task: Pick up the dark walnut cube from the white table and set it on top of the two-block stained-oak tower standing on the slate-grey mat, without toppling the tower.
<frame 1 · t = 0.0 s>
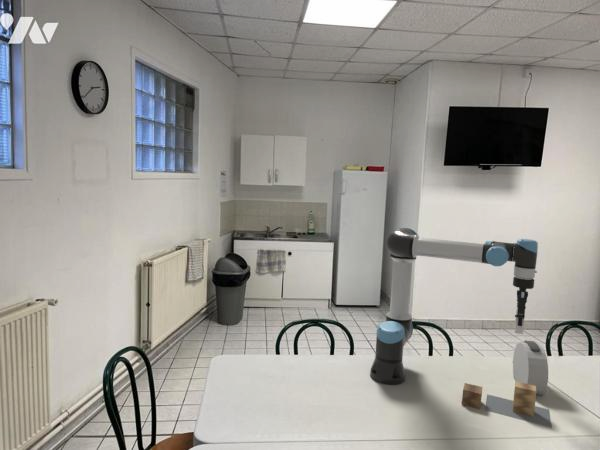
hand: (518, 328, 173), 28 cm above the table, fingers open, 13 cm apart
slate mat: (517, 410, 162), on the table
alarm clock: (527, 387, 183), on the table
oak block lower: (523, 411, 161), resting on slate mat, touching oak block upper
walnut cube: (471, 404, 166), on the table
oak block upper: (524, 398, 161), point 5 cm above the table, touching oak block lower
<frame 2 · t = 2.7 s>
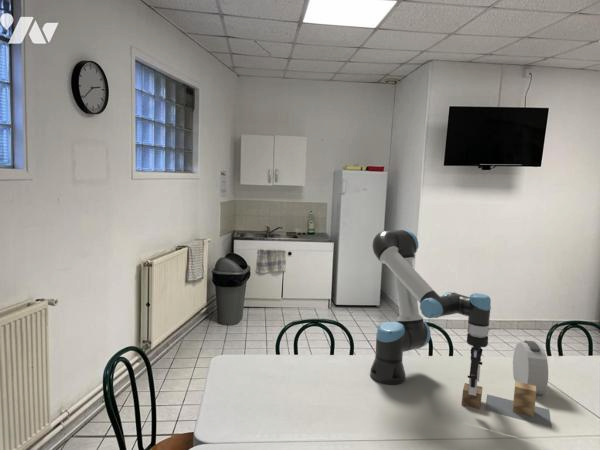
hand: (473, 387, 165), 7 cm above the table, fingers open, 13 cm apart
nothing on the table moved.
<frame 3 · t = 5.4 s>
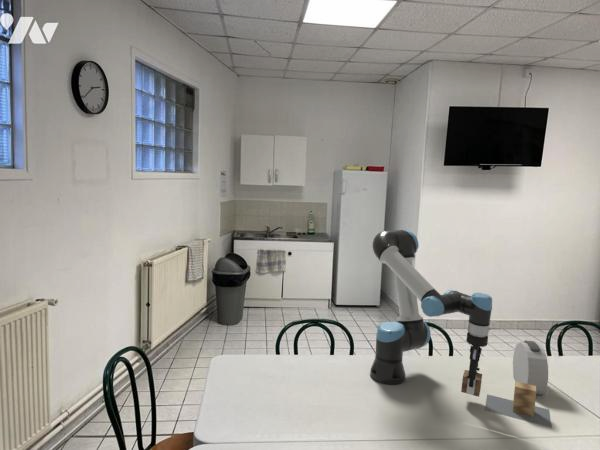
hand: (471, 389, 166), 6 cm above the table, fingers closed on walnut cube, 6 cm apart
walnut cube: (470, 390, 166), point 5 cm above the table, touching gripper
everything else where it was.
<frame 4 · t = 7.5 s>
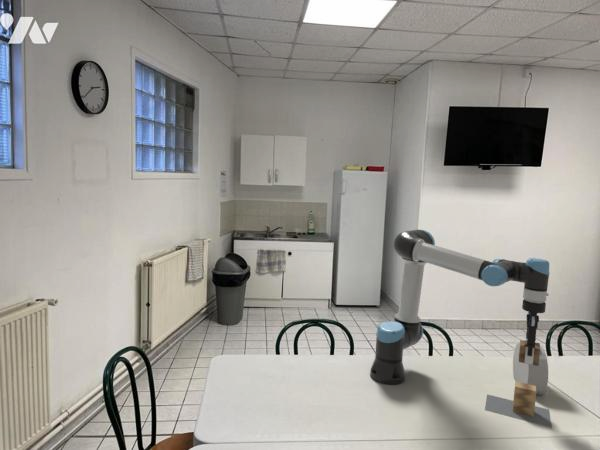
hand: (528, 360, 159), 21 cm above the table, fingers closed on walnut cube, 6 cm apart
walnut cube: (528, 360, 159), point 20 cm above the table, touching gripper
everything else where it was.
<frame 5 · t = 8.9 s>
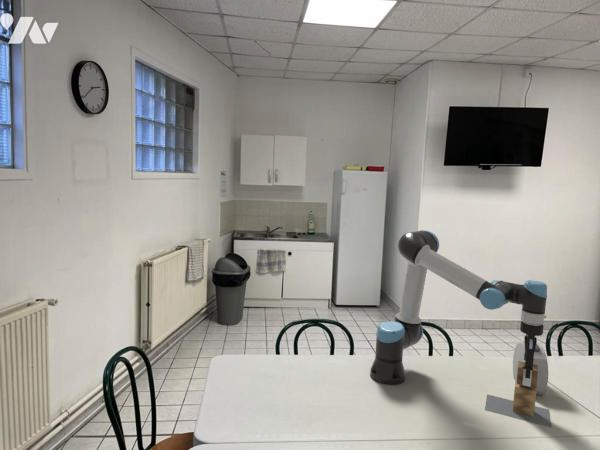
hand: (526, 381, 160), 12 cm above the table, fingers closed on walnut cube, 6 cm apart
walnut cube: (526, 382, 160), point 12 cm above the table, touching gripper
everything else where it was.
when the fingers open (11 cm above the table, at t = 9.9 s): walnut cube stays where it is, resting on oak block upper.
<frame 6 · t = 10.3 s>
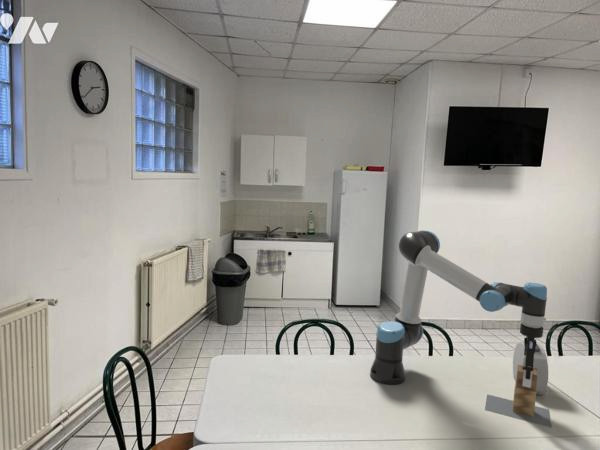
hand: (526, 379, 160), 13 cm above the table, fingers open, 13 cm apart
walnut cube: (525, 386, 160), point 10 cm above the table, touching oak block upper
oak block upper: (524, 398, 161), point 5 cm above the table, touching oak block lower, walnut cube
everything else where it was.
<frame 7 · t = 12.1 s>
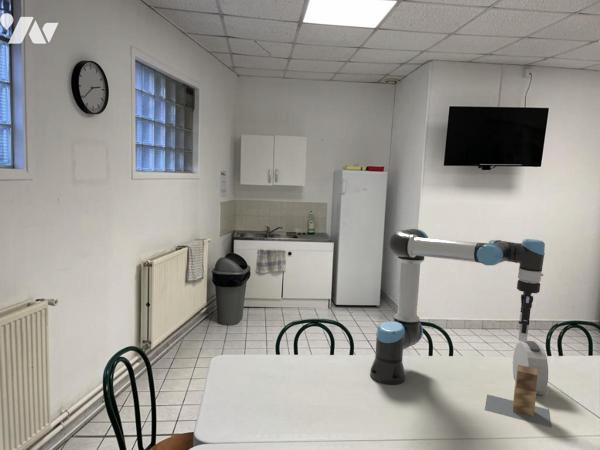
hand: (522, 335, 160), 29 cm above the table, fingers open, 13 cm apart
nothing on the table moved.
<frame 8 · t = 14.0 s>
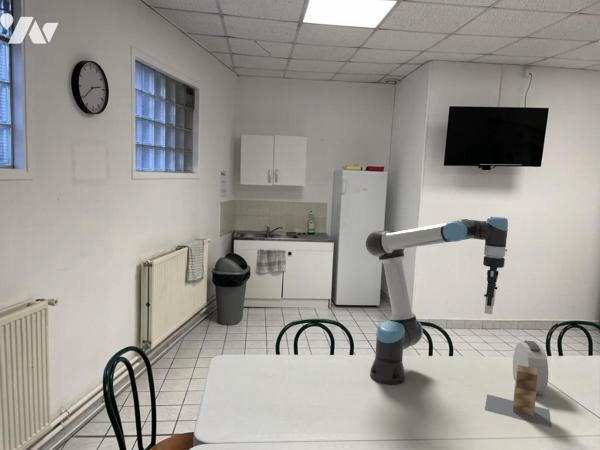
hand: (489, 309, 168), 37 cm above the table, fingers open, 13 cm apart
nothing on the table moved.
at the end: walnut cube 0.1 cm off-centre on the oak block lower, point 10.0 cm above the oak block lower's base; oak block upper 0.0 cm off-centre on the oak block lower, point 5.0 cm above the oak block lower's base; walnut cube tilted 0° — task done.
